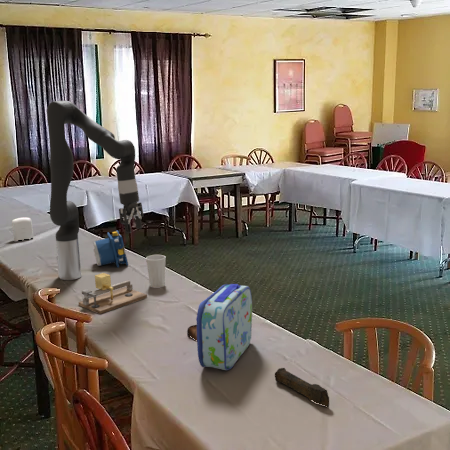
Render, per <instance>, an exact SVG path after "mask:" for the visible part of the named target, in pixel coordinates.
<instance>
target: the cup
mask: <svg viewBox="0 0 450 450" xmlns="http://www.w3.org/2000/svg"><path fill="white" fill-rule="evenodd" d="M166 257H167V256H165V255H162V254H152V255H147V256H146V258H145V260H146V267H147V268H146V269H147V274H148V275H147V276H148V281H149V287H150V288H154V289H158V288H163V287H165V286H166V261H167V260H166Z"/></svg>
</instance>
